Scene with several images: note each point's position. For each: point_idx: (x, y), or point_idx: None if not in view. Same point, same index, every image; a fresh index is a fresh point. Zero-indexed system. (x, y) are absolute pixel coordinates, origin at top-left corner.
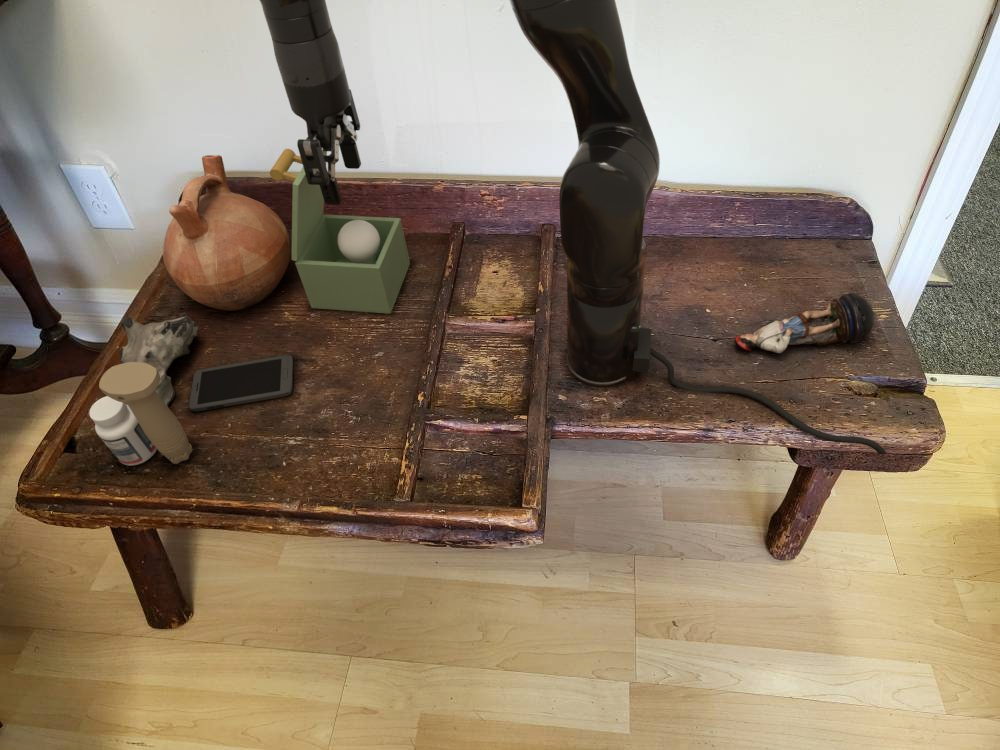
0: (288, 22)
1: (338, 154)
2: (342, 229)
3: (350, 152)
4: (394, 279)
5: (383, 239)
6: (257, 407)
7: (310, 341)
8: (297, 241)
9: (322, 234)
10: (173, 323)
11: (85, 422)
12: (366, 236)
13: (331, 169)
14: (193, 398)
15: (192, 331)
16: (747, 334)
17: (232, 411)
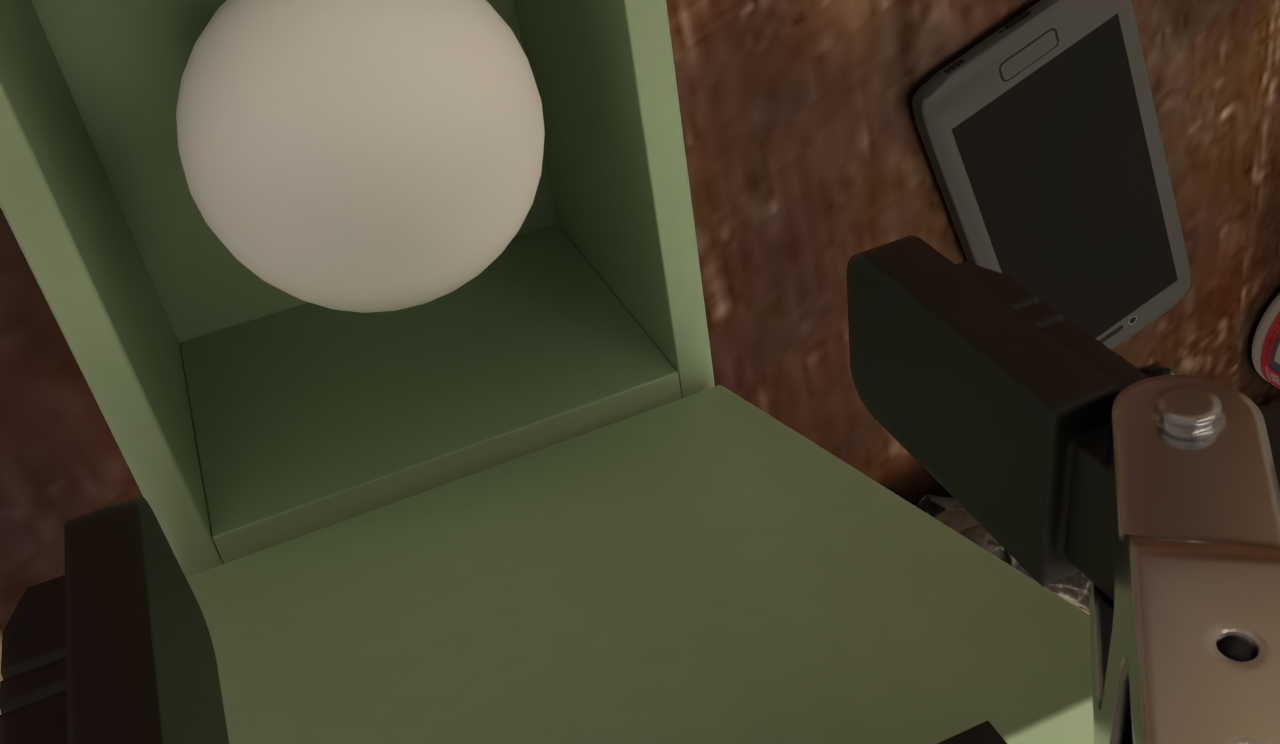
0: None
1: (1159, 609)
2: (456, 272)
3: (192, 719)
4: None
5: (26, 62)
6: (1154, 65)
7: (791, 83)
8: (792, 432)
9: (311, 458)
10: (1075, 586)
11: None
12: (436, 37)
13: (1274, 485)
14: (1152, 312)
15: (976, 529)
16: None
17: (1170, 147)
